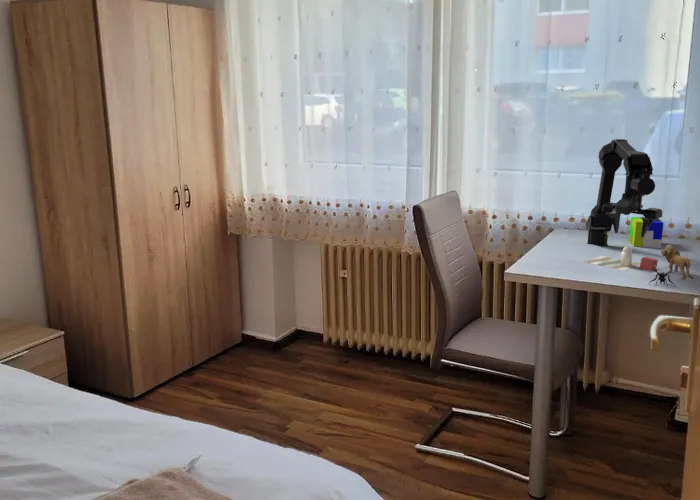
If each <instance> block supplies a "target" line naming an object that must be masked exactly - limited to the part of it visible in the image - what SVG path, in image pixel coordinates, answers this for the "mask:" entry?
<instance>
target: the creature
mask: <svg viewBox="0 0 700 500" xmlns="http://www.w3.org/2000/svg"><path fill="white" fill-rule="evenodd" d="M653 269H654V268H653ZM653 271H655V272H656V274H655V278H654V279H651V280H650V281H649V283H651V282H654V281H656V283H655V284H654V285H658V281H659V284H660V287H663V286H662V283H663V285H665V284H667V285H668V281H669V283H671V284H673V285H674V287H675V288H676V286H677V285H676V284H675V283H674V282H673V281H671V279H670V275H668V274H671V273H670V272H671V271H670V270H669V271H670V272H668V271H667V272H666V273H664V272H661V273H659V272H658V271H657V270H656V269H654V270H653ZM672 272H674V269H673V270H672ZM658 276H659V277H658ZM666 276H667V279H666ZM667 280H668V281H667Z"/></svg>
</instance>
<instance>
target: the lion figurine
mask: <svg viewBox="0 0 700 500" xmlns="http://www.w3.org/2000/svg"><path fill="white" fill-rule="evenodd" d="M660 253H661V256H662V257H664V259H666V260H667V263H668V264H669V265H668V266H669V270H667V273H668V272H670V271H671V272H670V273H669V274H671V273H673V272H674V273H678V270H679V269H680V272H681V274H682V276H681V279H682V280H686V278H689V279H691V280H695V278H694V277H693V276H692V275H691V274H690V268H691V261H690V259H689V257H685V256H682V255H681V254H680V253H681V252H680V251H679V250H678V249H677V248H676V247H675V246H673V245H672V244H667V245H665V248H664V249H663V250H660ZM674 265H675V267H674ZM673 267H674V269H673ZM685 269H686V271H685ZM672 270H673V271H672Z"/></svg>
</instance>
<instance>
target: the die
mask: <svg viewBox="0 0 700 500" xmlns="http://www.w3.org/2000/svg"><path fill="white" fill-rule="evenodd" d="M658 262H659V259H656V258H653V257H649V256H645V257H641V260H640V262H639V263H640V264H639V270H644V271H648V272H653V271H655V270H656V269H657V266H658ZM653 268H654V269H655V270H654V269H653Z"/></svg>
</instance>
